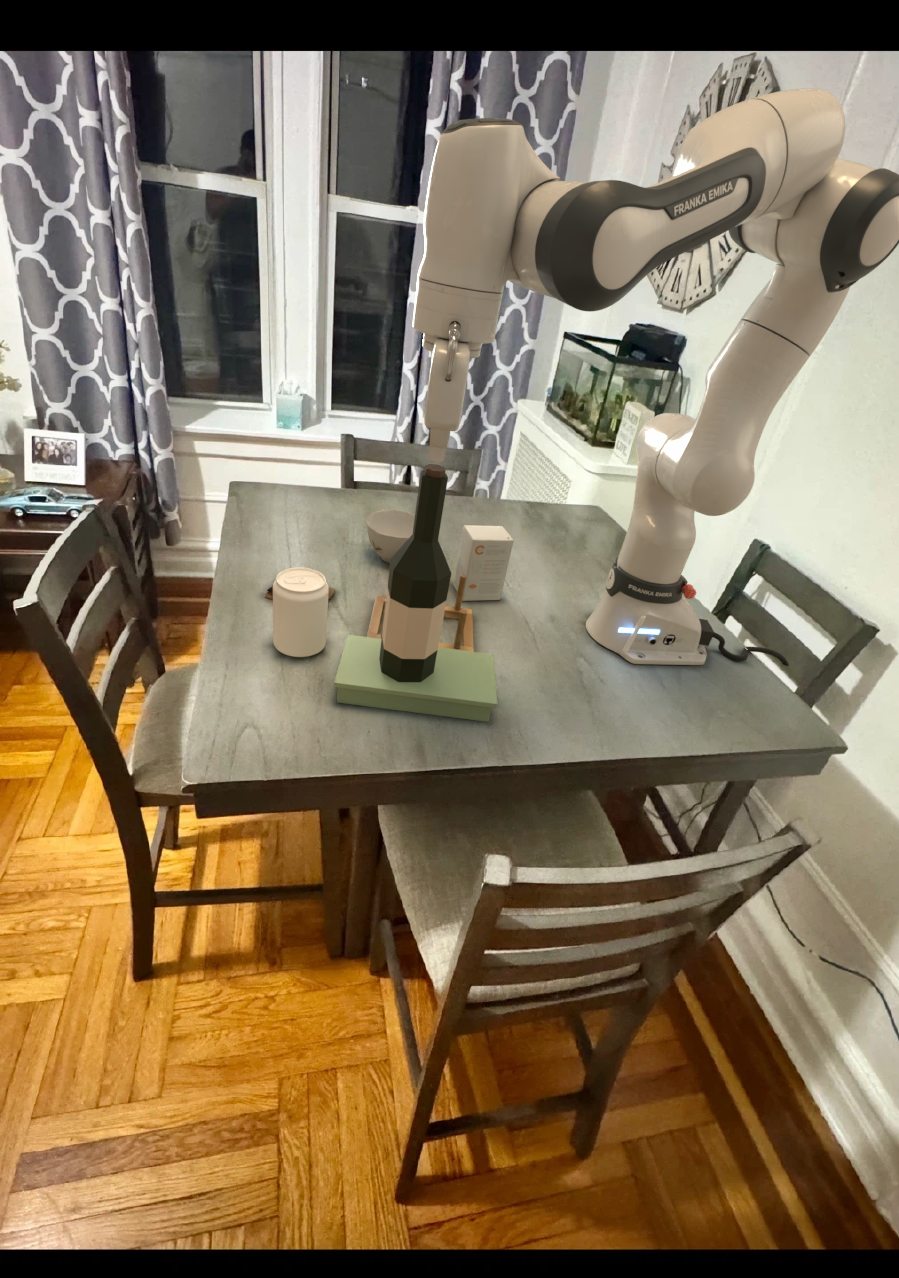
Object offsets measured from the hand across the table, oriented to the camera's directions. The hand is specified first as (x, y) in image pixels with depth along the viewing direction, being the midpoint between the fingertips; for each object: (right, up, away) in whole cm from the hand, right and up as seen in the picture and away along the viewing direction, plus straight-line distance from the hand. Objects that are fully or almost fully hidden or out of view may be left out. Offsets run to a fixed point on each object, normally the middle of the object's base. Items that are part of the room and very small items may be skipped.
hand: (437, 447), depth 71 cm
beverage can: (-22, -24, +25) cm, 41 cm away
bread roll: (-25, -15, +37) cm, 47 cm away
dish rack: (-3, -21, +34) cm, 40 cm away
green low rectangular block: (-4, -30, +20) cm, 36 cm away
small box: (+7, -13, +48) cm, 50 cm away
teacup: (-9, -6, +55) cm, 56 cm away
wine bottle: (-5, -27, +18) cm, 33 cm away
